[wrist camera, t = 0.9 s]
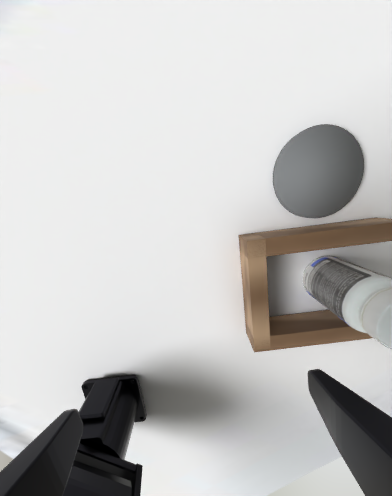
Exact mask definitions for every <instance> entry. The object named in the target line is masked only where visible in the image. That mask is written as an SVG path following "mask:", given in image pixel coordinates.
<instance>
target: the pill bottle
mask: <svg viewBox="0 0 392 496" xmlns="http://www.w3.org/2000/svg"><path fill="white" fill-rule="evenodd" d="M303 286H304V288H305V290H306V291H307V292H308V293H309V294H310V295H311V296H312V297H313V298H315V299H316V300H317V301H319V302H320V303H321V304H322V305H324V306H325V307H326V308H328V309H329V310H330V311H331V312H333V313H334V314H335V315H336V316H338V317H339V318H340V319H342V320H343V321H344V322H345V323H347V324H348V325H349V326H351V327H352V328H354V329H355V330H357V331H360V332H363V333H368V334H369V335H370V336H371V337H372V338H374V339H376V340H377V341H378V342H380V343H381V344H383V345H384V346H386V347H388V348H390V349H392V278H390V277H387V276H384V275H382V274H379V273H376V272H373V271H371V270H368V269H365V268H363V267H360V266H357V265H355V264H352V263H350V262H347V261H345V260H342V259H339V258H336V257H332V256H324V257H320V258H317V259H315V260H313V261H312V262H311V263H310V264H309V265H308V266H307V267H306V269H305V271H304V274H303Z"/></svg>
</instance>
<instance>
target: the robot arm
mask: <svg viewBox="0 0 392 496" xmlns="http://www.w3.org/2000/svg"><path fill="white" fill-rule="evenodd" d="M308 386H309V391H310V394H311V396H312V398H313V400H314V402H315V404H316V406H317V408H318V411H319V413H320V415H321V417H322V419H323V421H324V423H325V425H326V427H327V429H328V431H329V433H330V435H331V437H332V439H333V441H334V443H335V445H336V447H337V448H338V450H339V452H340V454H341V455H342V457H343V459H344V460H345V462H346V464H347V466H348V467H349V469H350V471H351V472H352V474H353V476H354V477H355V479H356V481H357V482H358V484H359V486H360V488H361V489H362V491H363V493H364V494H365V496H392V417H390V416H389V415H387V414H386V413H384V412H383V411H381V410H380V409H378V408H377V407H375V406H374V405H372V404H371V403H369V402H368V401H366V400H365V399H363V398H362V397H360V396H359V395H357V394H356V393H354V392H353V391H351V390H350V389H348V388H347V387H345V386H344V385H342V384H341V383H340V382H338V381H337V380H335V379H334V378H332V377H331V376H329V375H328V374H326V373H325V372H323V371H322V370H320V369H315V370H309V371H308ZM82 390H83V393H84V396H85V401H84V403H83V405H82V407H81V409H80V411H79V412H78V410H77V409H71V410H66V411H64V412H63V413H62V414H61V415H60V416H59V417H58V418H57V419H56V420H54V421H53V422H52V423H51V424H50V425H49V426H48V427H47V428H46V429H45V430H44V431H43V432H42V433H41V434H40V435H39V436H38V437H37V438H36V439H34V440H33V441H32V442H31V443H30V444H29V445H28V446H27V447H26V448H25V449H24V450H23V451H22V452H21V453H20V454H19V455H18V456H17V457H16V458H14V459H13V460H12V461H11V462H10V463H9V464H8V465H7V466H6V467H5V468H4V469H3V470H2V471H1V472H0V496H140V491H141V478H142V465H140V464H133V463H131V462H128V461H125V460H124V459H125V455H126V451H127V448H128V444H129V440H130V436H131V433H132V429H133V425H134V422H141V421H144V420H145V419H146V416H147V414H146V410H145V406H144V401H143V397H142V393H141V389H140V385H139V380H138V377H137V376H135V375H130V376H122V377H113V378H105V379H96V380H88V381H85V382H84V383H83V385H82Z"/></svg>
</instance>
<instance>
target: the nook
mask: <svg viewBox="0 0 392 496" xmlns="http://www.w3.org/2000/svg"><path fill="white" fill-rule="evenodd" d="M386 241H392V219H386V218H369V219H361V220H353V221H345V222H337V223H329V224H322V225H314V226H306V227H298V228H290V229H282V230H275V231H267V232H259V233H251V234H243V235H239V246H240V258H241V271H242V284H243V297H244V310H245V323H246V333H247V335H248V338H249V340H250V343H251V345H252V348H253V350H254V352H260V351H269V350H277V349H285V348H294V347H302V346H311V345H319V344H328V343H336V342H344V341H353V340H361V339H370V338H372V337H371V336H370V335H369V334H368V333H363V332H360V331H357V330H355V329H354V328H352V327H351V326H349V325H348V324H347V323H345V322H344V321H343V320H342V319H340V318H339V317H338V316H336V315H335V314H334V313H333V312H331V311H330V310H323V311H314V312H306V313H298V314H290V315H282V316H273V317H269V304H268V283H267V261H266V256H274V255H282V254H290V253H298V252H306V251H314V250H322V249H330V248H338V247H346V246H354V245H362V244H370V243H378V242H386Z"/></svg>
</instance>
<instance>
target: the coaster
mask: <svg viewBox="0 0 392 496" xmlns="http://www.w3.org/2000/svg"><path fill="white" fill-rule="evenodd" d="M363 170H364V159H363V154H362V150H361V148H360V145H359V143H358V142H357V140H356V139H355V138H354V136H353V135H352V134H351V133H349V132H348V131H347V130H345V129H343V128H341V127H339V126H335V125H328V124H324V125H317V126H313V127H310V128H308V129H306V130H304V131H302V132H300V133H299V134H297V135H296V136H294V137H293V138H292V139H291V140H290V141H289V142H288V143H287V144H286V145H285V146H284V147H283V149H282V150H281V152H280V154H279V156H278V158H277V160H276V163H275V166H274V171H273V186H274V190H275V193H276V196H277V198H278V200H279V201H280V203H281V204H282V205H283V206H284V207H285V208H286V209H287V210H288V211H289V212H291V213H293V214H295V215H298V216H301V217H306V218H320V217H325V216H328V215H331V214H333V213H335V212H337V211H338V210H340V209H341V208H342V207H344V206H345V205H346V204H347V203H348V202H349V201H350V200H351V199H352V197H353V196H354V194H355V193H356V191H357V189H358V187H359V185H360V183H361V180H362V176H363Z"/></svg>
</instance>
